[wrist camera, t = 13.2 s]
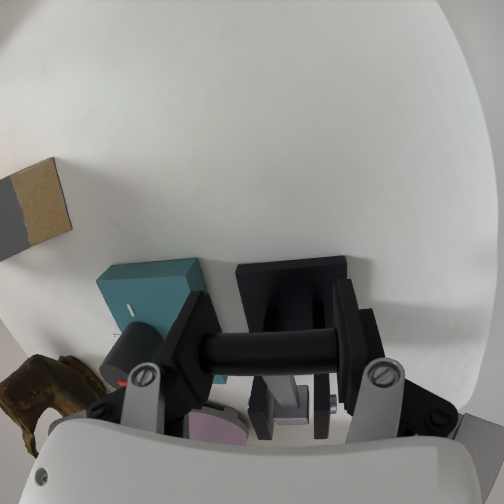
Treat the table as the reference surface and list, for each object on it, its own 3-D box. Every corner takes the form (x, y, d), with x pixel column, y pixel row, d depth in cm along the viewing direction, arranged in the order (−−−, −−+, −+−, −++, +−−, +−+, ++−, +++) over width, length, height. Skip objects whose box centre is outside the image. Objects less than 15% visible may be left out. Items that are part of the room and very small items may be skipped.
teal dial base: (102, 266, 27) (85, 282, 24) (197, 257, 24) (184, 276, 22) (148, 359, 33) (139, 376, 30) (231, 364, 30) (225, 385, 28)
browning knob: (136, 350, 28) (112, 393, 22) (120, 320, 26) (89, 363, 20) (170, 354, 27) (148, 401, 21) (155, 321, 25) (126, 371, 19)
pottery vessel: (141, 419, 44) (106, 501, 26) (105, 412, 47) (70, 482, 29) (58, 323, 34) (-13, 416, 16) (30, 325, 37) (-30, 399, 19)
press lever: (204, 317, 11) (193, 374, 9) (335, 311, 10) (340, 373, 8) (261, 395, 19) (259, 424, 18) (328, 393, 18) (328, 423, 17)
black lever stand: (237, 264, 24) (197, 373, 14) (344, 255, 22) (372, 368, 12) (259, 358, 29) (242, 455, 19) (342, 354, 27) (350, 453, 17)
